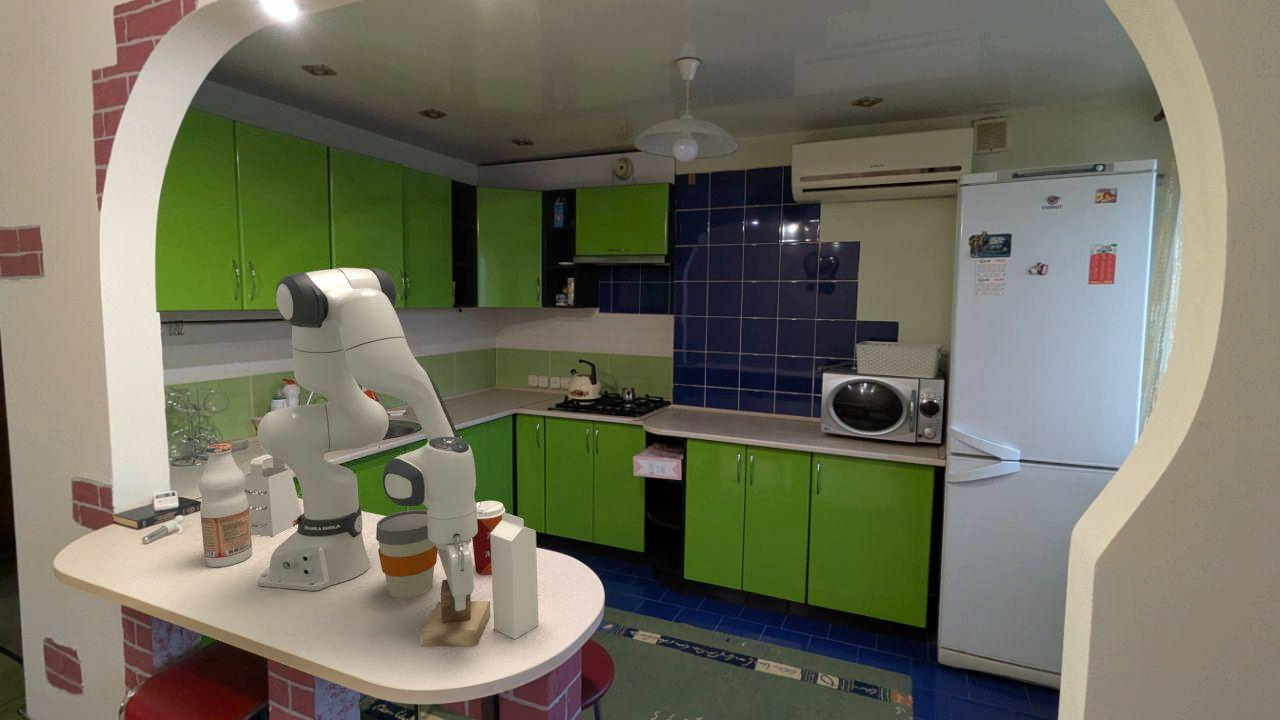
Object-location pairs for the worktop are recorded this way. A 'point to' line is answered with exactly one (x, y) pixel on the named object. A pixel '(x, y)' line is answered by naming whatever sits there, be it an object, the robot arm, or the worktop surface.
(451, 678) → the worktop surface
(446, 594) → the walnut cube
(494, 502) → the coffee cup
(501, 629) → the milk
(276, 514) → the grater
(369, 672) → the worktop surface
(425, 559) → the reusable coffee cup
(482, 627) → the oak plinth
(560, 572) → the worktop surface
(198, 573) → the worktop surface
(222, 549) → the fruit juice
